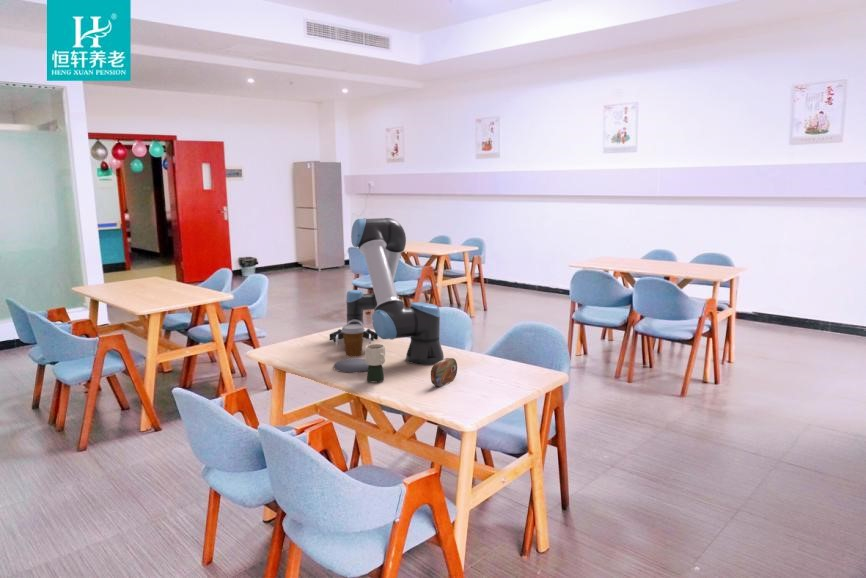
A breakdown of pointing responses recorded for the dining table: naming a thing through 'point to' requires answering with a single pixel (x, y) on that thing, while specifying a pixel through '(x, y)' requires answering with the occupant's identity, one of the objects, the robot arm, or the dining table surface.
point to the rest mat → (351, 365)
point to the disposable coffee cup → (353, 339)
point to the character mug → (375, 362)
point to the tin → (443, 372)
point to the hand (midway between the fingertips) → (353, 341)
